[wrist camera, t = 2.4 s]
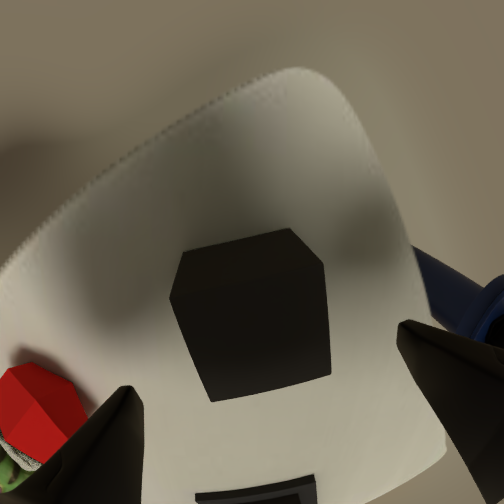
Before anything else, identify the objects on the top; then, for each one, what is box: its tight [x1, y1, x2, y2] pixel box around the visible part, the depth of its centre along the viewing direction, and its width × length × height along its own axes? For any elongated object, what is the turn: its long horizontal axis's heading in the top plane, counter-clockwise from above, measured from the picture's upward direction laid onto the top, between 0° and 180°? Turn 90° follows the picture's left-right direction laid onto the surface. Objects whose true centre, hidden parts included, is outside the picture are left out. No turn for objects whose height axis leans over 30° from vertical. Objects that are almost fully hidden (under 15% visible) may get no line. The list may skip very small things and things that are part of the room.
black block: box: [169, 228, 331, 402], centre depth 12 cm, size 5×5×4 cm
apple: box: [0, 362, 88, 464], centre depth 12 cm, size 7×7×8 cm
